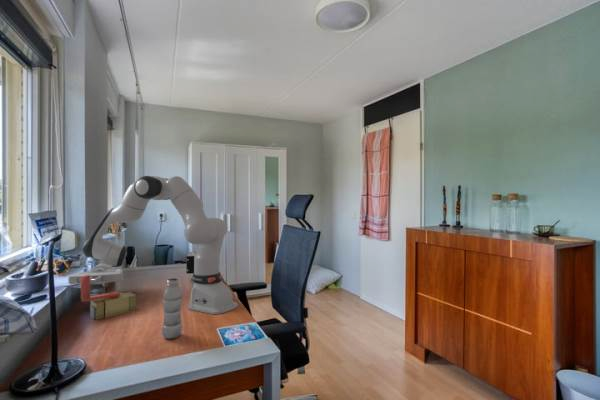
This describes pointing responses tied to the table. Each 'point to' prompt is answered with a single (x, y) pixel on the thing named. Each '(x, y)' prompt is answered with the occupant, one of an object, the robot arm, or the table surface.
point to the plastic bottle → (172, 310)
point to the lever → (86, 290)
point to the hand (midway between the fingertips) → (91, 281)
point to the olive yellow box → (112, 305)
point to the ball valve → (190, 264)
